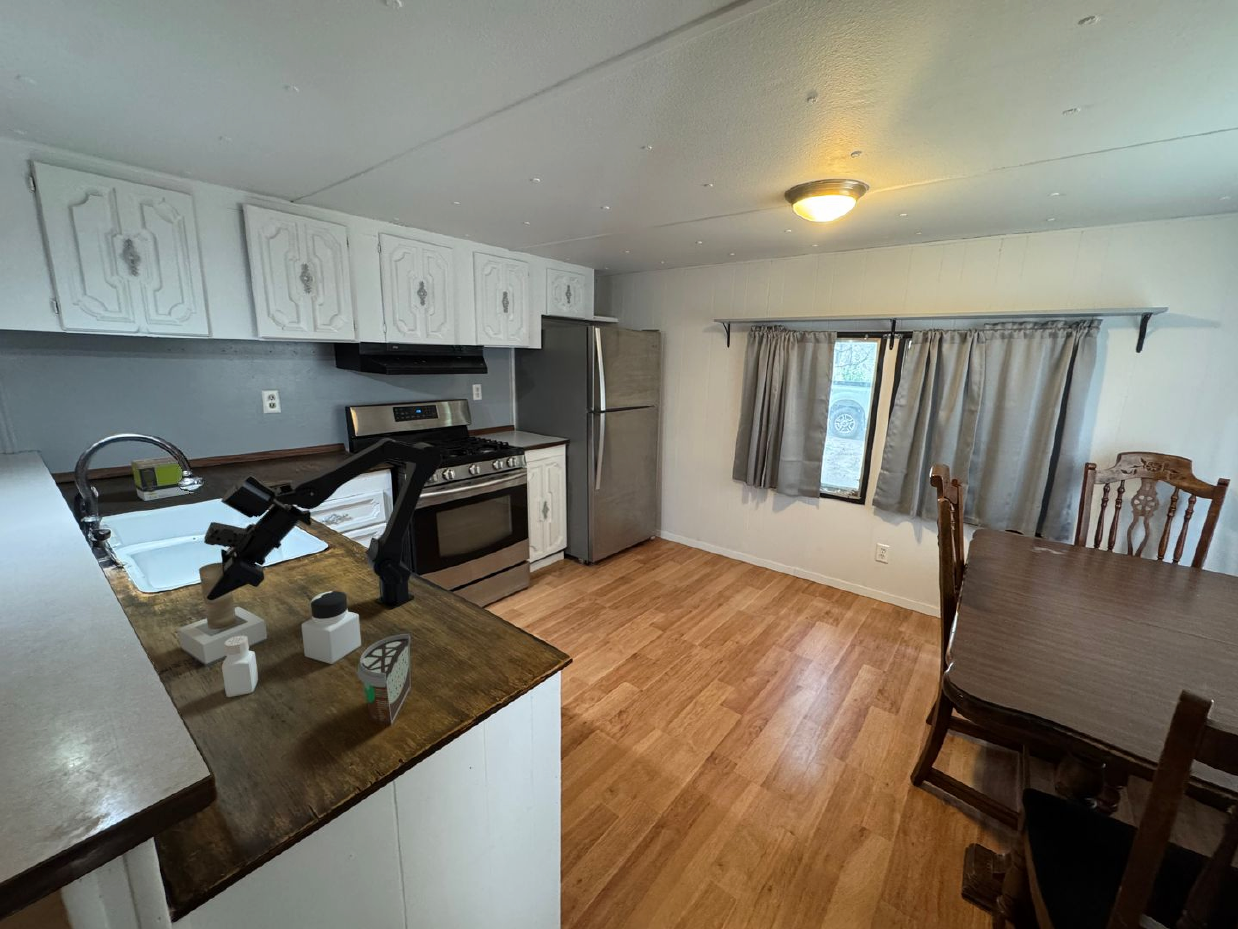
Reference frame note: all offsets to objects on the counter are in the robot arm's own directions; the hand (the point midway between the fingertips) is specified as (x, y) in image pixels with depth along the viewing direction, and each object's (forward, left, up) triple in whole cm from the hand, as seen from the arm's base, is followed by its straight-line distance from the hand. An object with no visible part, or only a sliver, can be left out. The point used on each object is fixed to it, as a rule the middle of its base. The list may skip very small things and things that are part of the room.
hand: (208, 594), depth 97 cm
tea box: (+135, -39, -12) cm, 142 cm away
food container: (-43, -6, -11) cm, 45 cm away
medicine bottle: (-21, -11, -11) cm, 26 cm away
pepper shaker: (-19, +4, -11) cm, 22 cm away
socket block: (-1, -1, -11) cm, 11 cm away
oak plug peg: (-1, -1, -7) cm, 7 cm away
